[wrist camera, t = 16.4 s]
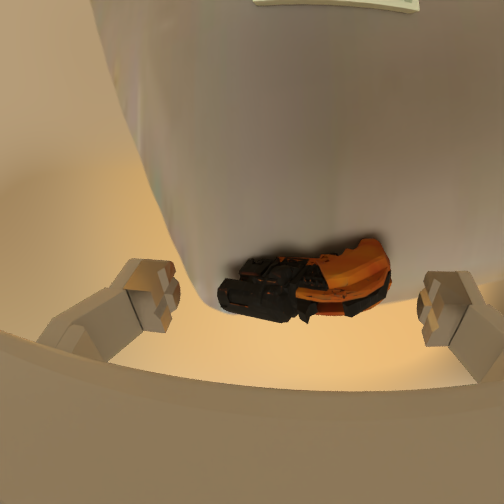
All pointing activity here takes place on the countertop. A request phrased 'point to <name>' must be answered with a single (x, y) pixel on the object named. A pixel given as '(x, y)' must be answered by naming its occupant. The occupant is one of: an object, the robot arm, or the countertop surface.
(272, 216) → the countertop surface
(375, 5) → the tray
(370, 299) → the tool
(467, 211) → the countertop surface
